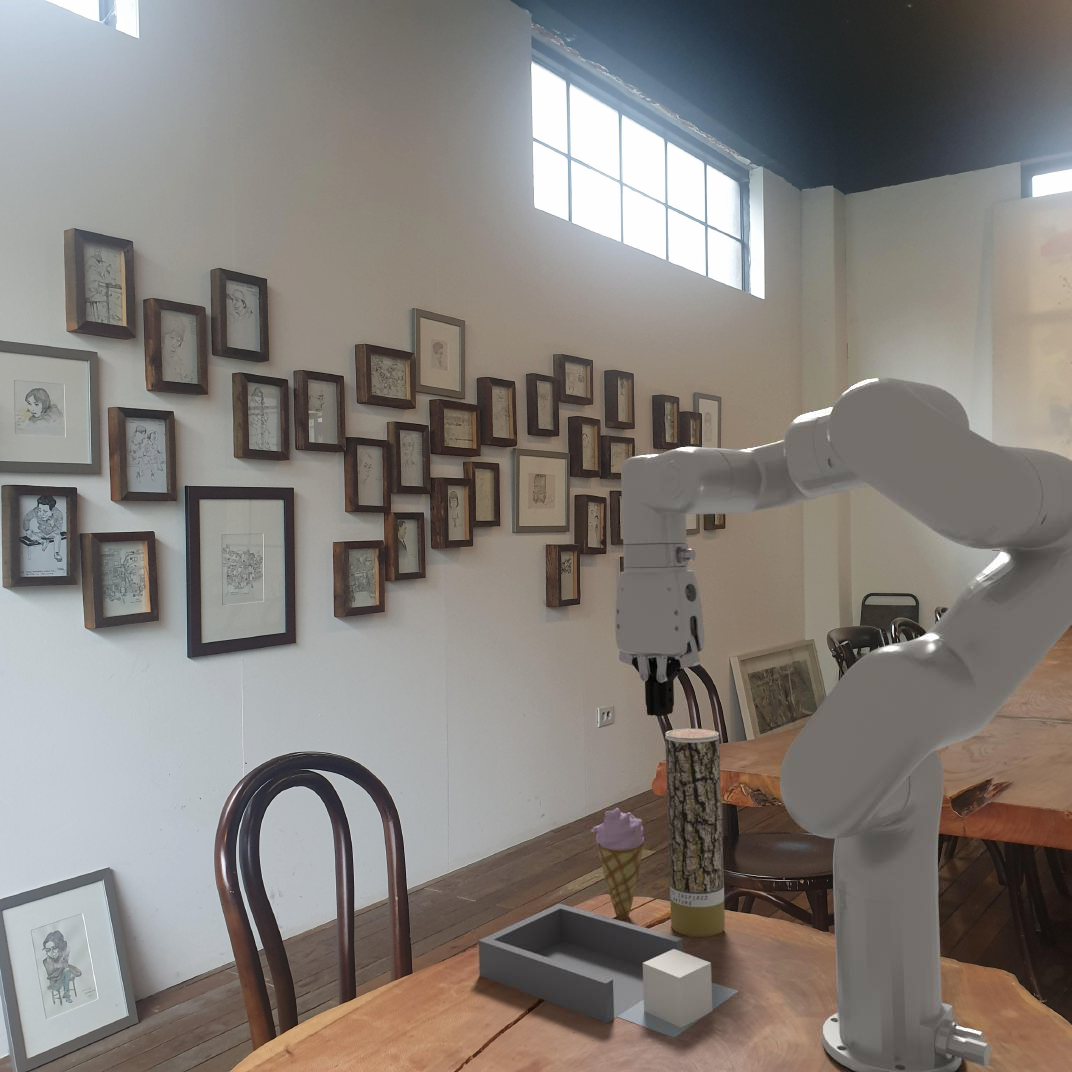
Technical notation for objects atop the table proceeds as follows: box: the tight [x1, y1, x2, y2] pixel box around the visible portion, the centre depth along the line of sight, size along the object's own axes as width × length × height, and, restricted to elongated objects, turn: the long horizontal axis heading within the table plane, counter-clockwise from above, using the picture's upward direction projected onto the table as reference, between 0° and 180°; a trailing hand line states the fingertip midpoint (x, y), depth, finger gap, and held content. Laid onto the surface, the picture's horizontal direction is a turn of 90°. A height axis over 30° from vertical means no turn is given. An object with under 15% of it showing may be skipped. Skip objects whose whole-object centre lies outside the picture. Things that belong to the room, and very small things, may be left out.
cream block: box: [643, 949, 713, 1028], centre depth 101 cm, size 5×5×5 cm
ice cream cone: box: [590, 807, 645, 920], centre depth 128 cm, size 7×6×15 cm
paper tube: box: [664, 728, 726, 938], centre depth 123 cm, size 7×7×25 cm
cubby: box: [478, 903, 740, 1039], centre depth 108 cm, size 25×14×4 cm, turn 49°
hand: (660, 713), depth 115 cm, fingers closed
